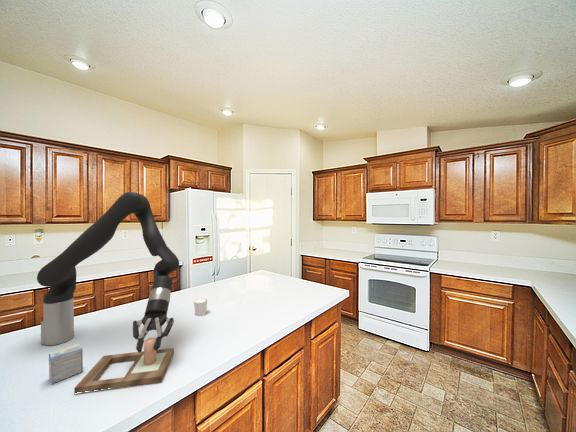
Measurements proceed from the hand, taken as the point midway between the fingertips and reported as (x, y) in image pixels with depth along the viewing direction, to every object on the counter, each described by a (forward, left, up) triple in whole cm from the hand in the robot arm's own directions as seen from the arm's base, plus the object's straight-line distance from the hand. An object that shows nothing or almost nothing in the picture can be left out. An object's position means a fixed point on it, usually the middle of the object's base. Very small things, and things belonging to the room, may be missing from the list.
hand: (147, 350), depth 81 cm
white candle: (+11, +45, -8) cm, 47 cm away
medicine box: (-26, +4, -8) cm, 27 cm away
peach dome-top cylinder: (0, +2, -5) cm, 6 cm away
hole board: (-6, +2, -8) cm, 10 cm away
